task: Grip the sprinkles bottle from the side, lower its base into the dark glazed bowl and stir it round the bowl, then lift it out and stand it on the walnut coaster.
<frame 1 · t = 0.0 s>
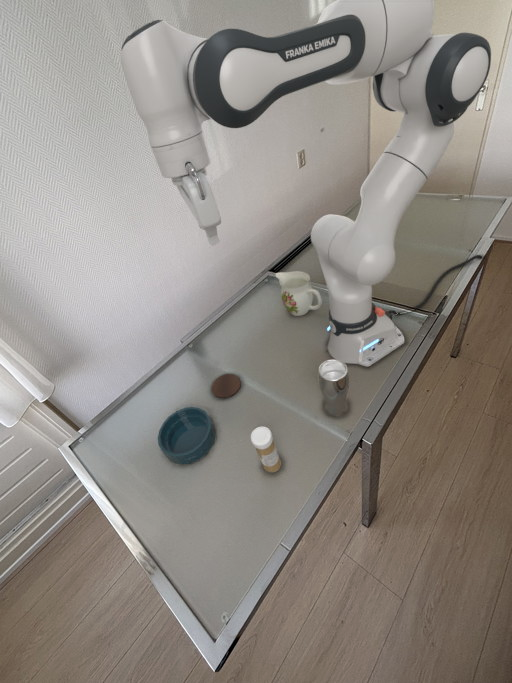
hand: (209, 234, 63), 48 cm above the table, tool pointing down, fingers open, 8 cm apart
pitcher: (301, 311, 116), on the table
coaster: (226, 386, 98), on the table
sprinkles bottle: (272, 464, 77), on the table
silver metal tumbler: (336, 407, 84), on the table
bowl: (190, 439, 87), on the table
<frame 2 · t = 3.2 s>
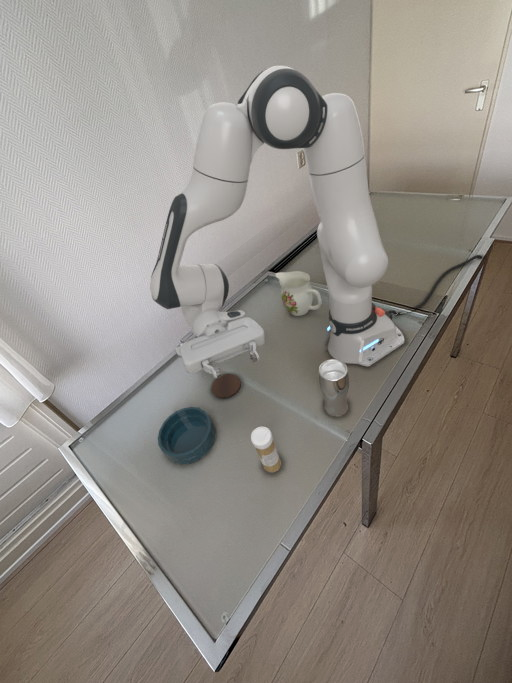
hand: (237, 367, 70), 23 cm above the table, tool horizontal, fingers open, 8 cm apart
nothing on the table moved.
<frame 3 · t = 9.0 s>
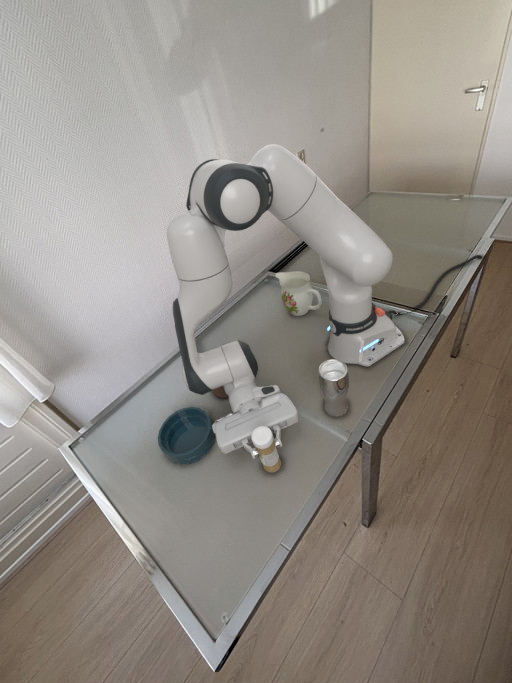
hand: (267, 451, 71), 8 cm above the table, tool horizontal, fingers closed on sprinkles bottle, 4 cm apart
sprinkles bottle: (272, 464, 77), on the table, touching gripper
everything else where it was.
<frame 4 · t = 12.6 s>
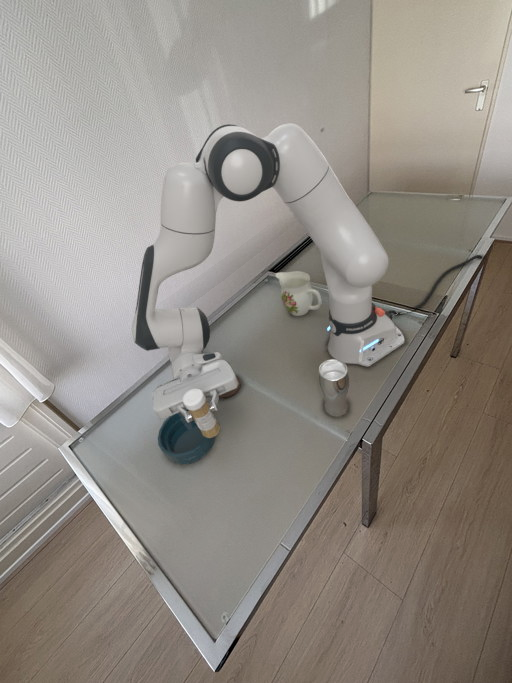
hand: (202, 414, 70), 17 cm above the table, tool horizontal, fingers closed on sprinkles bottle, 4 cm apart
sprinkles bottle: (211, 430, 76), point 9 cm above the table, touching gripper
everything else where it was.
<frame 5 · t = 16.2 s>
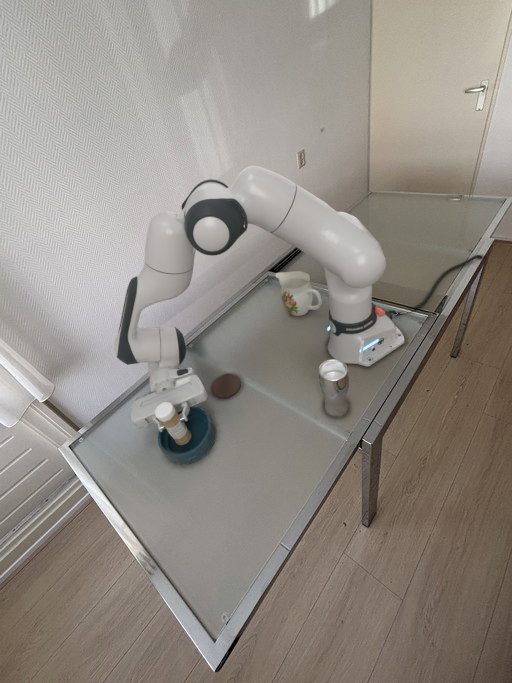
hand: (173, 425, 79), 10 cm above the table, tool horizontal, fingers closed on sprinkles bottle, 4 cm apart
sprinkles bottle: (184, 438, 85), point 2 cm above the table, touching gripper
everything else where it was.
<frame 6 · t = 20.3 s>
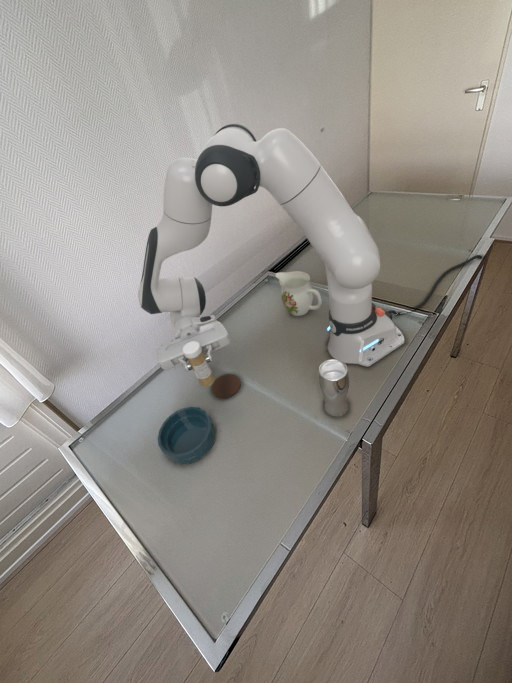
hand: (199, 364, 83), 17 cm above the table, tool horizontal, fingers closed on sprinkles bottle, 4 cm apart
sprinkles bottle: (207, 381, 88), point 9 cm above the table, touching gripper
everything else where it was.
when the fingers open (8 cm above the table, at t = 23.8 s): sprinkles bottle stays where it is, resting on coaster.
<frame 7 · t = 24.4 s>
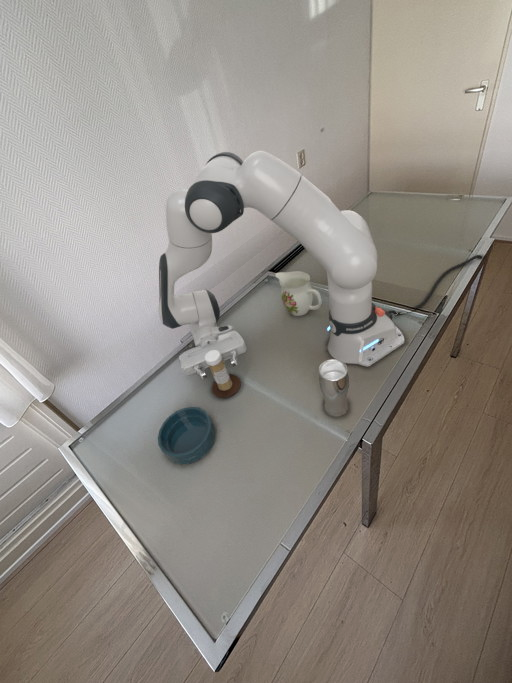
hand: (219, 370, 91), 8 cm above the table, tool horizontal, fingers open, 8 cm apart
sprinkles bottle: (225, 385, 97), resting on coaster
everything else where it was.
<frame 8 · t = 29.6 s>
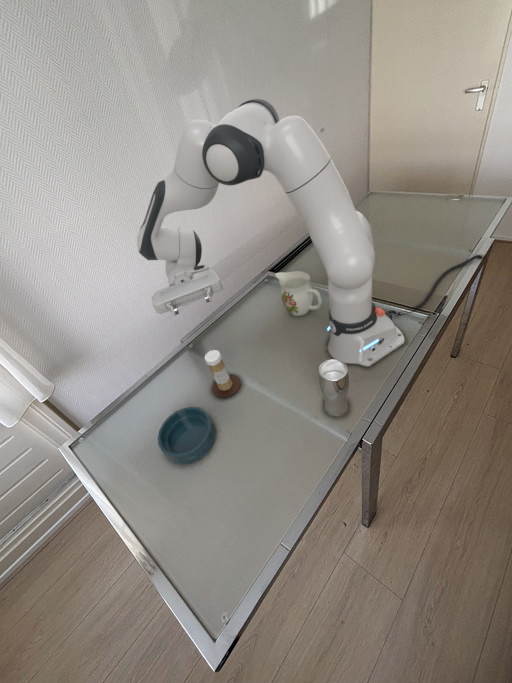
hand: (192, 306, 86), 26 cm above the table, tool horizontal, fingers open, 8 cm apart
nothing on the table moved.
at the end: sprinkles bottle 0.1 cm off-centre on the coaster, point 0.4 cm above the coaster's base; sprinkles bottle tilted 0°; the gripper is holding nothing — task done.
